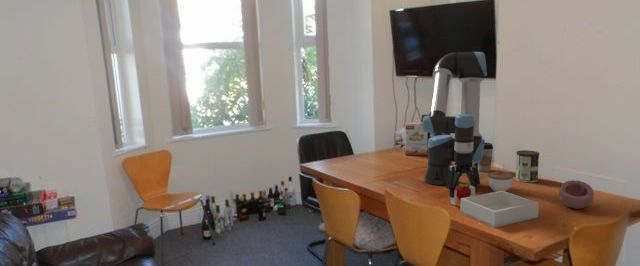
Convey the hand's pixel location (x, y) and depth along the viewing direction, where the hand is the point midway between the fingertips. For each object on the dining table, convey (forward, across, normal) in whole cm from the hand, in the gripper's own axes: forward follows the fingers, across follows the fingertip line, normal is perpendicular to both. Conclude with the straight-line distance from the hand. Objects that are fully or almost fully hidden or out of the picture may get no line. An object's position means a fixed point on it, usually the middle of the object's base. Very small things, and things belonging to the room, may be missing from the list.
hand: (462, 202), depth 187 cm
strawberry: (0, 0, 0) cm, 0 cm away
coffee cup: (0, +47, +37) cm, 60 cm away
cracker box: (0, +40, +90) cm, 99 cm away
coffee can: (0, +52, +13) cm, 53 cm away
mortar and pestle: (0, +35, -26) cm, 44 cm away
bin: (0, +2, -18) cm, 18 cm away
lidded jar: (0, +27, +6) cm, 28 cm away
